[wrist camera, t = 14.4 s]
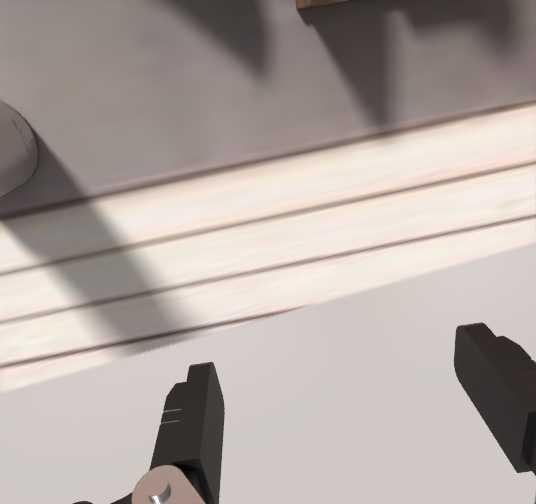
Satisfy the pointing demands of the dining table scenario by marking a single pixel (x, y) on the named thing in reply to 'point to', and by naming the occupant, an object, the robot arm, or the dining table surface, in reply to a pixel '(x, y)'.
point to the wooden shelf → (314, 3)
